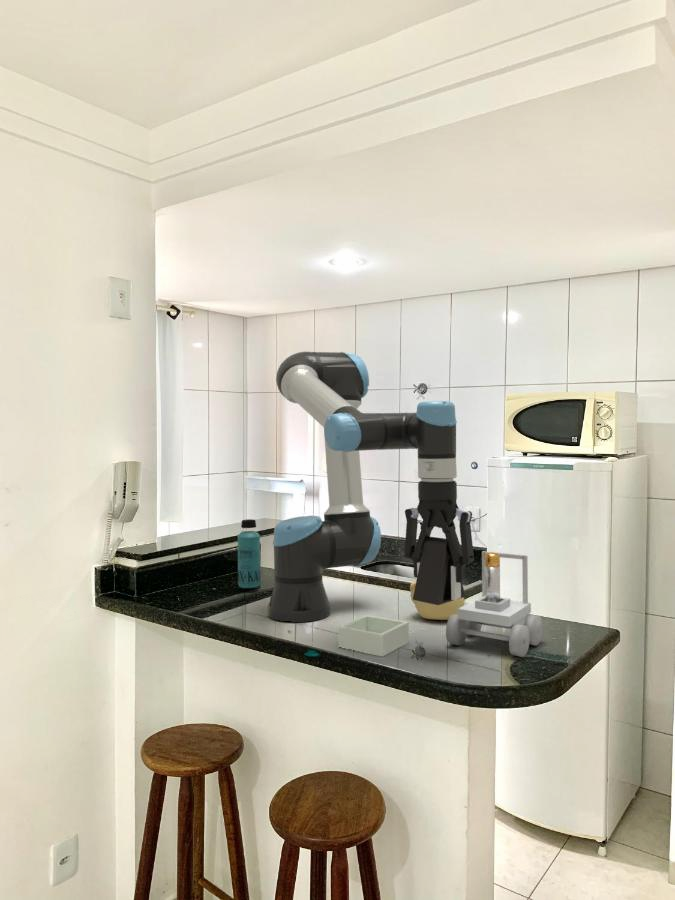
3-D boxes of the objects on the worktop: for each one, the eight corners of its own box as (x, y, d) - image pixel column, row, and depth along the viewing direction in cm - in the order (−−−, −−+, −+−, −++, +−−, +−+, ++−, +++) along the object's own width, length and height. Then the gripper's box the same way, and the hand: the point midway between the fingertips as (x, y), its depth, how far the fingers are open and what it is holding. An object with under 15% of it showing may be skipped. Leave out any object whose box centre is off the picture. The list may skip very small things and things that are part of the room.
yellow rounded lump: (433, 608, 173) (433, 565, 172) (473, 617, 164) (473, 572, 164) (403, 617, 165) (402, 572, 164) (443, 627, 156) (442, 580, 156)
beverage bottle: (238, 588, 197) (236, 518, 197) (261, 587, 198) (260, 517, 197) (237, 594, 191) (235, 521, 190) (261, 592, 192) (260, 520, 191)
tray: (338, 647, 143) (338, 627, 143) (366, 634, 152) (366, 614, 152) (382, 656, 137) (382, 635, 137) (408, 642, 146) (408, 622, 146)
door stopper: (436, 605, 132) (435, 542, 132) (412, 600, 136) (411, 539, 136) (465, 597, 138) (464, 536, 138) (441, 592, 142) (440, 534, 142)
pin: (482, 607, 142) (482, 554, 142) (488, 604, 145) (488, 551, 144) (496, 609, 140) (496, 555, 140) (502, 606, 143) (502, 553, 143)
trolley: (446, 647, 142) (445, 559, 142) (474, 630, 154) (473, 549, 153) (518, 660, 134) (518, 567, 133) (543, 641, 145) (542, 555, 144)
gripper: (384, 479, 139) (386, 594, 140) (476, 482, 128) (477, 606, 128) (403, 477, 145) (405, 586, 146) (491, 479, 134) (493, 598, 135)
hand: (439, 596), depth 137 cm, fingers closed on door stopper, 7 cm apart
